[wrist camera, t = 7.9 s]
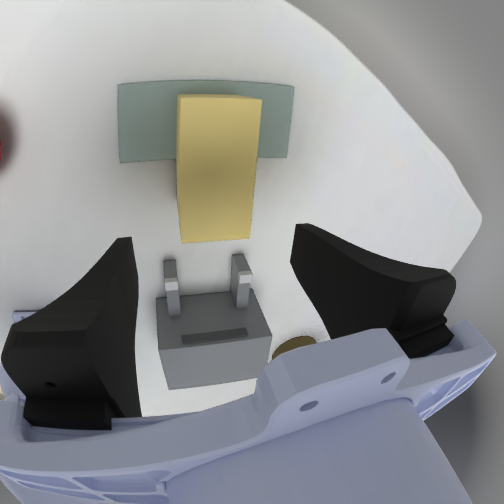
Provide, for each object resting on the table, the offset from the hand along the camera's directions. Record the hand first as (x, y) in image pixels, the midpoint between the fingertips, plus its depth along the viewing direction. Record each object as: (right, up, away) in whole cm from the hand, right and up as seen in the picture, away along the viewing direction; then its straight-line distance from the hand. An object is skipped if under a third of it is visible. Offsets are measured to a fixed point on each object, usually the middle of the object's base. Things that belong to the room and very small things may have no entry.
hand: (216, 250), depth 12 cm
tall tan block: (-2, +7, +7) cm, 10 cm away
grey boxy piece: (-3, -5, +15) cm, 16 cm away
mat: (-2, +9, +6) cm, 11 cm away
